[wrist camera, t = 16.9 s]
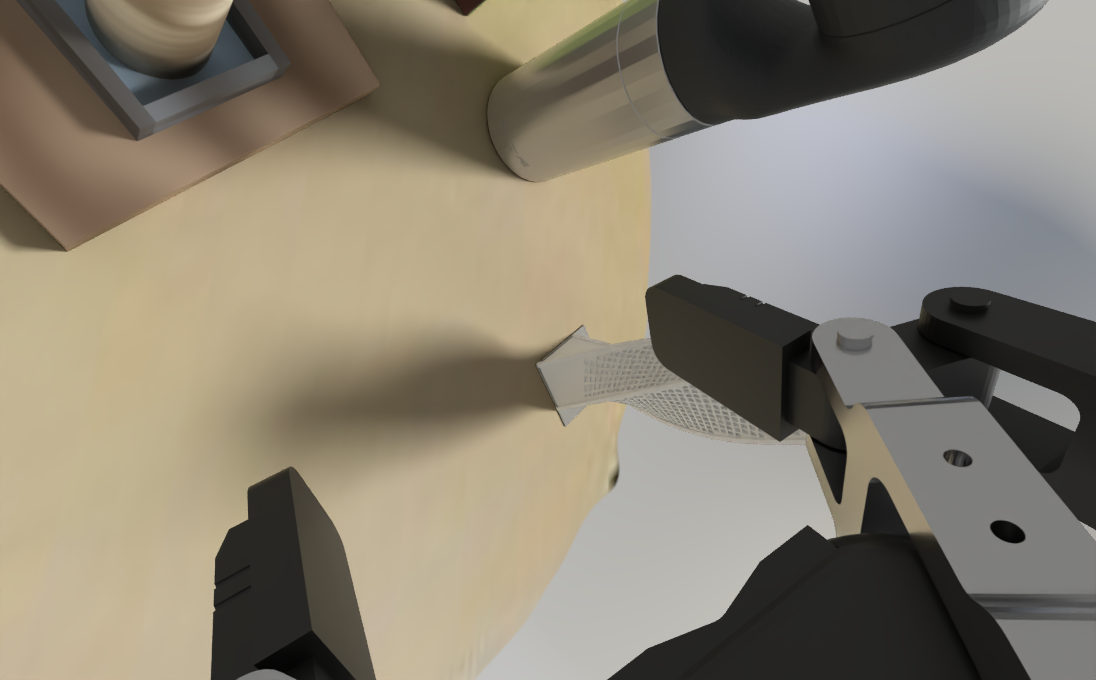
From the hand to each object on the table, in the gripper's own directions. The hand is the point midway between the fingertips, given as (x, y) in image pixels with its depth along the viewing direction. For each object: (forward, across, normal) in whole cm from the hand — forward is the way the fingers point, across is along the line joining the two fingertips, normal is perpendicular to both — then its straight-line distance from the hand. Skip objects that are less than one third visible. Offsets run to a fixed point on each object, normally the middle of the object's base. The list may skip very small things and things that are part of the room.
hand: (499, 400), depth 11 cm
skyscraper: (+29, -13, +23) cm, 39 cm away
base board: (+30, +5, -10) cm, 32 cm away
